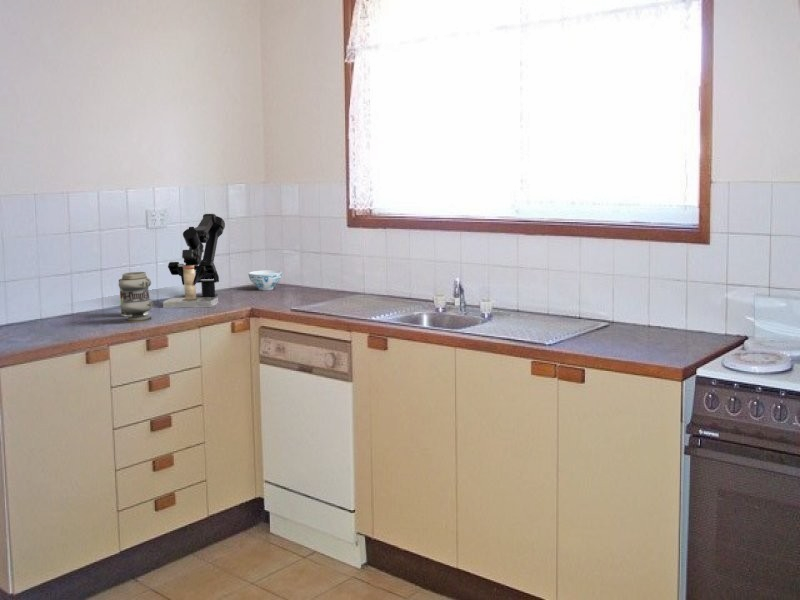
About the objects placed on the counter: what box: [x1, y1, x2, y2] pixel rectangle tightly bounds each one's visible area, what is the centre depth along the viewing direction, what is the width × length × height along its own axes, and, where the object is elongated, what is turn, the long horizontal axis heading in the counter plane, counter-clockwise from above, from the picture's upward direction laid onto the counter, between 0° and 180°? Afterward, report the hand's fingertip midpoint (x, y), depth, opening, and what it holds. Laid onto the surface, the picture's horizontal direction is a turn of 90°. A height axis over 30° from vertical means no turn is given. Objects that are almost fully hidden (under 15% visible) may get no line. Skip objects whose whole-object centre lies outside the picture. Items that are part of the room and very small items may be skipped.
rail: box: [162, 296, 219, 309], centre depth 391 cm, size 10×20×2 cm, turn 85°
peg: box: [183, 264, 197, 301], centre depth 390 cm, size 4×4×15 cm
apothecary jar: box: [118, 271, 154, 323], centre depth 357 cm, size 12×12×18 cm
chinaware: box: [248, 269, 283, 291], centre depth 432 cm, size 15×15×8 cm
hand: (188, 284), depth 388 cm, fingers closed on peg, 4 cm apart
